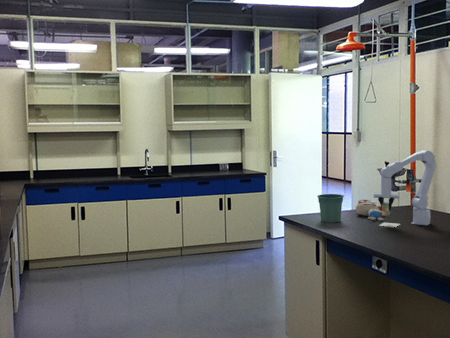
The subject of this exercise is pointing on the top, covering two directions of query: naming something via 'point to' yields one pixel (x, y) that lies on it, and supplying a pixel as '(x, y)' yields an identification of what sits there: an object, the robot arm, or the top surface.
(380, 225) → the mat
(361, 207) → the toy
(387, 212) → the teal block wooden top
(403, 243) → the top surface
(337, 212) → the flower pot
